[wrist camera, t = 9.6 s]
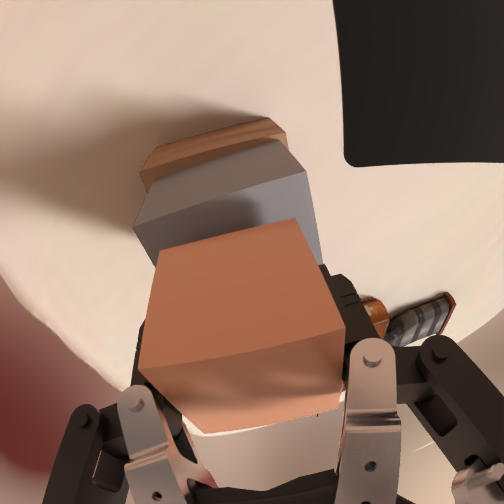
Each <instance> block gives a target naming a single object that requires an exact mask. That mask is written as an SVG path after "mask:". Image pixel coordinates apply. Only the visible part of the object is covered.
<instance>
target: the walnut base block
mask: <svg viewBox="0 0 504 504" xmlns="http://www.w3.org/2000/svg"><path fill="white" fill-rule="evenodd" d="M276 140H280V141H281V142H282V144H283V145H284V146H285V147H286V148H287V149H288V143H287V138H286V132H285V131H283V130H282V129H281V128H280V127H279V126H278V125H277V124H276V123H275V122H274V121H273V120H271V119H270V118H267V119H262V120H257V121H253V122H248V123H244V124H239V125H235V126H231V127H227V128H223V129H219V130H215V131H212V132H208V133H204V134H201V135H197V136H194V137H190V138H187V139H184V140H180V141H177V142H174V143H171V144H168V145H164V146H161V147H158V148H155V150H154V151H153V152H152V154H151V155H150V157H149V158H148V160H147V161H146V163H145V164H144V165H143V167H142V168H141V170H140V171H139V173H140V175H141V178H142V180H143V183H144V186H145V188H146V191H147V193H148V192H149V190H150V187H151V185H152V183H153V181H154V180H157V179H160V178H162V177H165V176H167V175H170V174H173V173H175V172H178V171H181V170H184V169H186V168H189V167H192V166H195V165H198V164H201V163H204V162H207V161H210V160H213V159H216V158H219V157H222V156H225V155H228V154H231V153H235V152H238V151H241V150H244V149H248V148H251V147H255V146H258V145H261V144H265V143H269V142H272V141H276ZM288 150H289V149H288Z"/></svg>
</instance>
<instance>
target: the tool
mask: <svg viewBox="0 0 504 504" xmlns="http://www.w3.org/2000/svg"><path fill="white" fill-rule="evenodd" d="M363 305H364V307H365V309H366V311H367V313H368V315H369V317H370V319H371V321H372V323H373V325H374V327H375V329H376V331H377V333H378V334H379V336H380V337H381V338H382V339H383V340H384V341H386V342H387V343H389V344H390V345H393V346H397V347H404V346H406V345H408V344H410V343H412V342H414V341H417V340H419V339H422V338H425V337H427V336H430V335H433V334H436V335H440V334H442V332H443V330H444V328H445V326H446V325H447V323H448V321H449V319H450V317H451V314H452V312H453V310H454V308H455V306H456V303H455V300H454V298H453V297H452V296H451V295H450V294H449V293H448V292H447V293H444V295H443V298H440V299H437V300H435V301H432V302H429V303H427V304H424V305H422V306H419V307H416V308H413V309H411V310H408V311H406V312H404V313H403V314H401V315H400V316H398V317H397V318H395V319H393V320H392V321H390V322H389V316H388V313H387V310H386V308H385V306H384V305H383V303H382V302H381V301H380V300H378V299H375V300H371V301H367V302H363ZM343 391H345V387H344V384H343V381H341V389H340V395H341V393H342V392H343ZM318 414H319V413H318ZM318 414H317V416H318Z"/></svg>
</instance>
